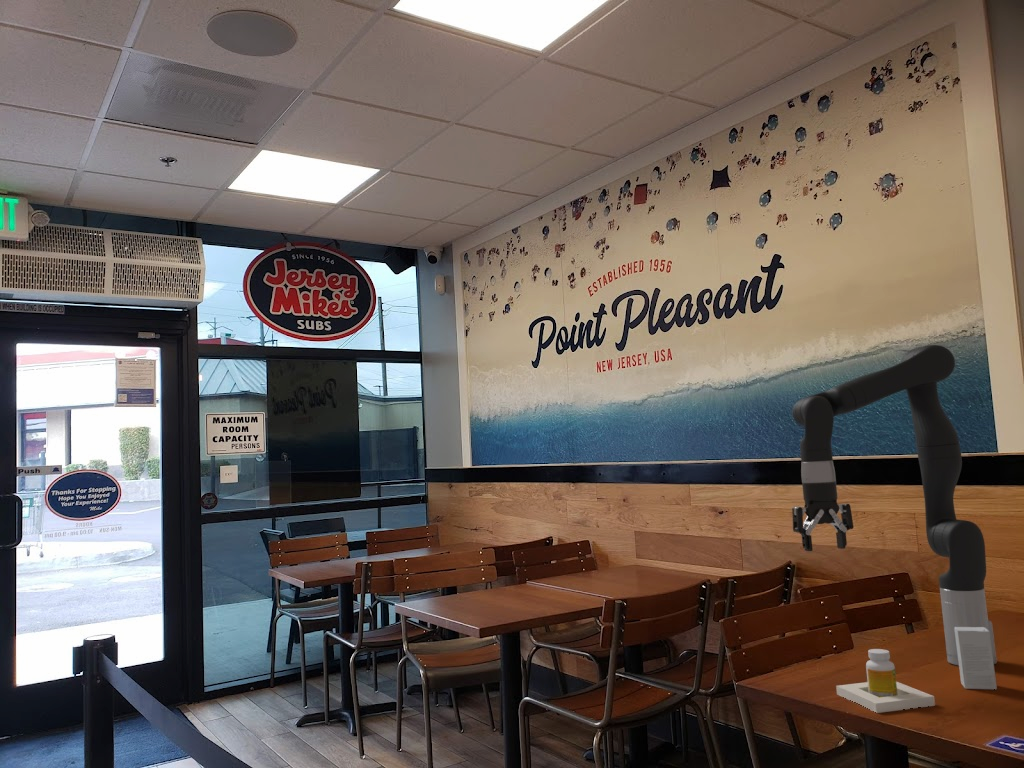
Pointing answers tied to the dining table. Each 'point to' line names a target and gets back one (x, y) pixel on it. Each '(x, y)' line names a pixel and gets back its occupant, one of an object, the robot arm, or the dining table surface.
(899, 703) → the hole plate
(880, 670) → the supplement bottle
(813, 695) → the dining table surface
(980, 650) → the skincare box
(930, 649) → the dining table surface
